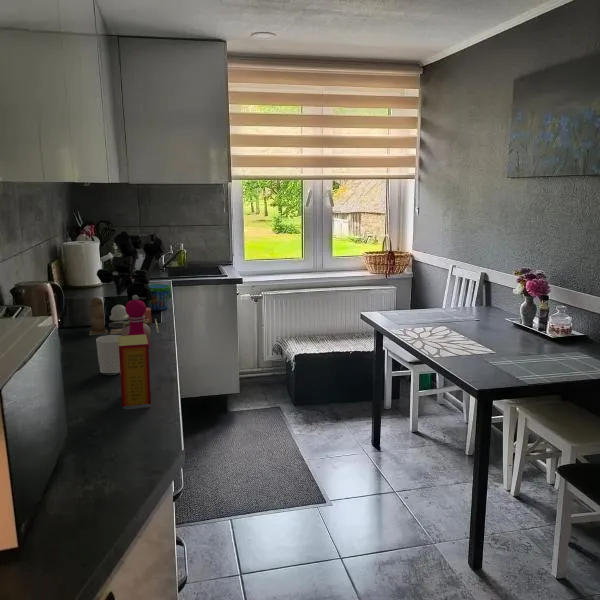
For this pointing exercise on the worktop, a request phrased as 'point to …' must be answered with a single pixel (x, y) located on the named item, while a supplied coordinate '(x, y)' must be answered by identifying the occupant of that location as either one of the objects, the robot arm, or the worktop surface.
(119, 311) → the dome
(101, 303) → the pawn
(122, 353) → the baking soda box
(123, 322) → the game board
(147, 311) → the die
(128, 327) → the decorative fruit
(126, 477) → the worktop surface
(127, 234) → the robot arm
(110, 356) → the white cup
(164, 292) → the snack cup
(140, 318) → the pepper mill
